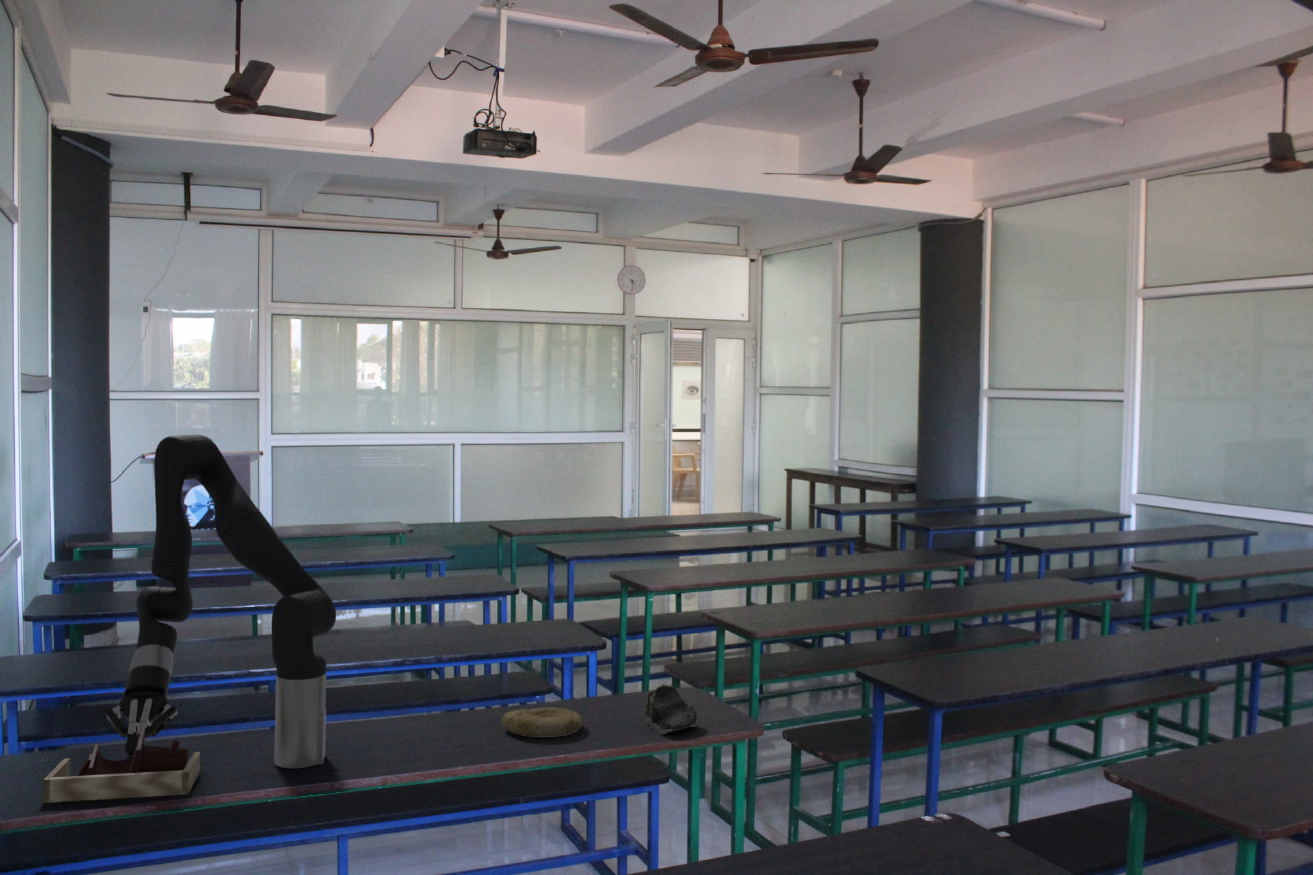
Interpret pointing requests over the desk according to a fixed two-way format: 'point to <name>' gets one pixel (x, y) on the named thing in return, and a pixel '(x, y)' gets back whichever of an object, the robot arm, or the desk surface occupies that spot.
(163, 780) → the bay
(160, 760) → the bracket
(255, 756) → the desk surface
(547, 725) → the brown thick ring
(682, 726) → the rock
